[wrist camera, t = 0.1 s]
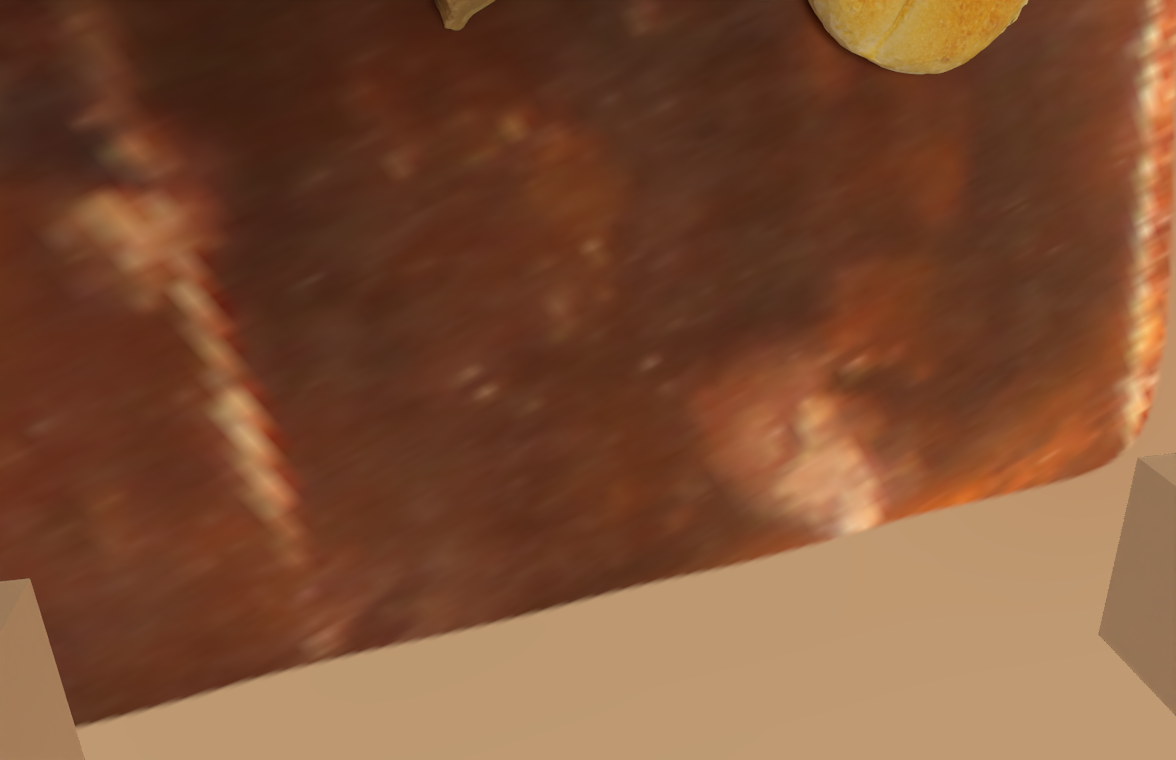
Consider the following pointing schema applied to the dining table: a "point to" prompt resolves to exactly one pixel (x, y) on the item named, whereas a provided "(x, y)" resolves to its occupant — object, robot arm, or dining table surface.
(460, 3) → the rock
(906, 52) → the bread roll
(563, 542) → the dining table surface
